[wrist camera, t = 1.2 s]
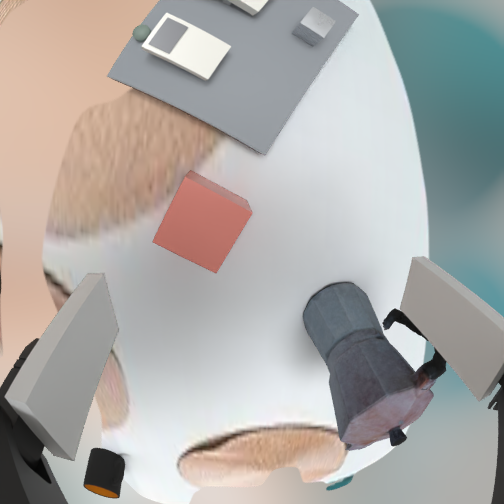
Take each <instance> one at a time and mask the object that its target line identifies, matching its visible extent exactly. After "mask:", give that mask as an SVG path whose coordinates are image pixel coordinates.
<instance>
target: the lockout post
mask: <svg viewBox="0 0 504 504" xmlns="http://www.w3.org/2000/svg"><path fill="white" fill-rule="evenodd" d="M335 22H336V21H335V20H333V19H332V18H330V17H329V16H327V15H326V14H324V13H323V12H321V11H319V10H318V9H316V8H315V7H312V8H311V10H310V11H309V12H308V13H307V14H306V16H305V17H304V18H303V19H302V21H301V22H300V23H299V25H298V26H297V27H296V28H295V30H294V31H293V32H292V34H293V35H295V36H296V37H298V38H300V39H301V40H303V41H304V42H306V43H308V44H309V45H311V46H312V47H314V46H315V45H316V44H317V43H318V42H320V41H321V40H322V39H323V38H324V37H325V36H326V34H327V33H328V32H329V30H330V29H331V28H332V26H333V25H334V24H335Z"/></svg>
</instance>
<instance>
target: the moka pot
mask: <svg viewBox="0 0 504 504" xmlns="http://www.w3.org/2000/svg"><path fill="white" fill-rule="evenodd" d="M303 318H304V323H305V327H306V330H307V332H308V334H309V336H310V337H311V339H312V340H313V342H314V344H315V346H316V347H317V349H318V351H319V353H320V355H321V356H322V358H323V359H324V361H325V363H326V365H327V366H328V370H329V372H330V379H329V386H330V390H331V395H332V400H333V405H334V410H335V416H336V421H337V426H338V432H339V437H340V440H341V441H342V442H345V443H348V445H347V448H346V449H345V450H349V451H351V450H356V449H362V448H365V447H367V446H369V445H371V444H372V443H374V442H377V441H380V440H383V439H387V438H390V442H391V446H396V445H399V444H401V443H402V442H404V441H405V440H406V438H407V437H406V435H405V434H404V433H403V431H402V429H404V428H405V427H407V426H408V425H410V424H411V423H413V422H414V421H415V420H417V419H418V418H419V417H420V416H421V415H422V413H423V411H424V410H425V409H426V407H427V406H428V404H429V402H430V401H431V400H432V398H433V396H434V395H433V392H432V391H431V390H430V388H431V386H433V384H434V383H435V382H436V379H437V378H438V377H439V376H441V375H442V374H443V373H444V372H445V371H446V362H447V361H446V360H445V359H444V358H443V357H442V355H441V354H440V353H439V352H438V351H437V350H436V348H435V347H434V349H435V354H434V356H433V359H432V360H431V361H429V362H427V363H425V364H423V365H422V366H421V367H419V369H418V370H417V371H416V372H415V371H414V370H413V368H412V367H411V366H410V365H409V364H408V362H407V361H406V360H405V359H404V358H403V357H402V355H401V354H400V353H399V352H398V351H397V350H396V349H395V348H394V347H393V346H392V345H391V344H390V343H389V341H388V340H387V338H386V337H385V336H384V334H383V331H382V328H381V326H380V324H379V321H378V319H377V317H376V314H375V312H374V310H373V308H372V306H371V303H370V301H369V299H368V296H367V295H366V293H365V292H363V291H362V290H361V289H360V288H359V287H357V286H356V285H355V284H354V283H340V284H335V285H332V286H329V287H327V288H325V289H323V290H322V291H320V292H319V293H318V294H316V295H315V296H314V297H313V298H312V299H311V300H310V302H309V303H308V305H307V307H306V309H305V311H304V315H303ZM395 321H396V322H398V323H401V324H403V325H406V327H408V328H409V329H410V330H412V331H413V332H416V333H417V334H418V335H420V336H422V337H424V338H425V339H426V340H427V341H429V340H428V339H427V338H426V337H425V336H424V335H423V334H422V333H421V331H420V330H419V329H418V328H417V327H416V326H415V325H414V324H413V323H412V321H411V320H410V319H409V318H408V317H407V316H406V315H405V314H404V313H403V312H402V311H400V310H397V309H393V310H392V311H391V312H390V313H389V314H388V316H387V317H386V318H385V319H384V322H383V325H384V326H383V327H384V328H385V329H384V330H387V329H389V328H390V327H391V325H392V324H393V322H395Z"/></svg>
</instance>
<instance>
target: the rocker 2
mask: <svg viewBox="0 0 504 504" xmlns="http://www.w3.org/2000/svg"><path fill="white" fill-rule="evenodd" d="M228 1H229V2H231V3H233V4H235V5H236V6H238V7H240V8H241V9H243V10H245V11H246V12H248V13H250V14H251V15H255V14H256V13H258V12H259V11H260V9H261V8H262V7H263V6H264V5H265V4H266V2H267V1H268V0H228Z"/></svg>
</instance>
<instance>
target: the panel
mask: <svg viewBox="0 0 504 504" xmlns="http://www.w3.org/2000/svg"><path fill="white" fill-rule="evenodd" d="M312 7H315V8H316V9H318V10H319V11H321V12H323V13H324V14H326V15H327V16H329V17H330V18H332V19H333V20H335V21H336V22H335V24H334V25H333V26H332V28H331V29H330V30H329V32H328V33H327V34H326V36H325V37H324V38H323V39H322V40H321V41H320V42H318V43H317V44H316V45H315V46H314V47H312V46H311V45H309V44H308V43H306V42H304V41H303V40H301V39H300V38H298V37H296V36H295V35H293V34H292V32H293V31H294V30H295V28H296V27H297V26H298V25H299V23H300V22H301V21H302V19H303V18H304V17H305V16H306V14H307V13H308V12H309V11H310V10H311V8H312ZM166 13H169V14H171V15H173V16H175V17H177V18H179V19H181V20H184V21H186V22H188V23H190V24H192V25H194V26H196V27H197V28H199V29H201V30H203V31H205V32H207V33H209V34H211V35H212V36H214V37H216V38H218V39H219V40H221V41H223V42H225V43H226V44H228V45H230V46H231V48H230V49H229V50H228V52H227V53H226V54H225V56H224V57H223V59H222V60H221V62H220V63H219V64H218V66H217V67H216V69H215V70H214V72H213V73H212V75H211V76H210V78H209V79H208V80H206V81H204V80H203V79H201V78H199V77H197V76H195V75H193V74H191V73H190V72H188V71H186V70H184V69H182V68H180V67H178V66H176V65H174V64H172V63H170V62H168V61H166V60H164V59H161V58H159V57H157V56H155V55H153V54H151V53H148V52H146V51H144V50H142V47H141V46H142V45H143V43H144V42H145V41H146V39H147V38H148V36H149V35H150V34H151V32H152V31H153V29H154V28H155V27H156V25H157V24H158V23H159V21H160V20H161V19H162V17H163V16H164V15H165V14H166ZM358 15H359V14H357V13H356V12H355V11H353V10H352V9H350V8H349V7H348V6H346V5H345V4H343V3H342V2H340V1H339V0H268V1H267V2H266V4H265V5H264V6H263V7H262V8H261V9H260V11H259V12H258V13H256V14H255V15H251V14H250V13H248V12H246V11H245V10H243V9H241V8H240V7H238V6H236V5H235V4H233V3H231V2H229V1H228V0H160V1H159V2H158V3H157V4H156V5H155V7H154V8H153V9H152V10H151V12H150V13H149V14H148V15H147V17H146V18H145V19H144V21H143V22H142V23H141V25H139V26H137V27H136V28H135V29H134V31H133V36H132V37H131V39H130V40H129V42H128V43H127V45H126V47H125V48H124V49H123V51H122V52H121V54H120V56H119V57H118V59H117V60H116V62H115V63H114V65H113V67H112V68H111V70H110V72H109V74H108V77H110V78H111V79H113V80H115V81H118V82H120V83H123V84H125V85H127V86H130V87H132V88H134V89H136V90H139V91H141V92H143V93H145V94H148V95H150V96H152V97H154V98H156V99H159V100H161V101H163V102H165V103H167V104H169V105H171V106H173V107H175V108H177V109H179V110H181V111H183V112H185V113H187V114H189V115H191V116H193V117H195V118H197V119H199V120H201V121H203V122H205V123H207V124H209V125H211V126H213V127H214V128H216V129H218V130H220V131H222V132H224V133H226V134H227V135H229V136H231V137H233V138H235V139H236V140H238V141H240V142H242V143H243V144H245V145H247V146H249V147H250V148H252V149H254V150H256V151H257V152H259V153H261V154H263V155H266V153H267V152H268V150H269V148H270V147H271V145H272V144H273V142H274V140H275V139H276V137H277V136H278V134H279V132H280V131H281V129H282V128H283V126H284V125H285V123H286V121H287V120H288V118H289V117H290V115H291V114H292V112H293V111H294V109H295V107H296V106H297V104H298V103H299V101H300V100H301V98H302V97H303V95H304V94H305V92H306V91H307V89H308V88H309V86H310V85H311V83H312V82H313V80H314V79H315V77H316V76H317V74H318V73H319V71H320V70H321V68H322V67H323V65H324V64H325V62H326V61H327V59H328V58H329V56H330V55H331V54H332V52H333V51H334V49H335V48H336V46H337V45H338V43H339V42H340V41H341V39H342V38H343V36H344V35H345V34H346V32H347V31H348V29H349V28H350V26H351V25H352V24H353V22H354V21H355V20H356V18H357V17H358Z"/></svg>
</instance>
